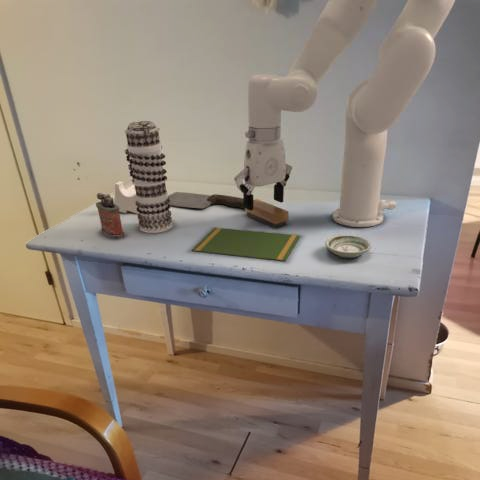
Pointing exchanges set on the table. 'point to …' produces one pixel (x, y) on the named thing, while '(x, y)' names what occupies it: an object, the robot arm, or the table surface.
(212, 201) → the cleaver
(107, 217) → the lighter
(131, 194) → the bracket
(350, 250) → the saucer
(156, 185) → the decorative candle
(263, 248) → the cloth
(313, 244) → the table surface
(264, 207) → the chalkboard eraser
